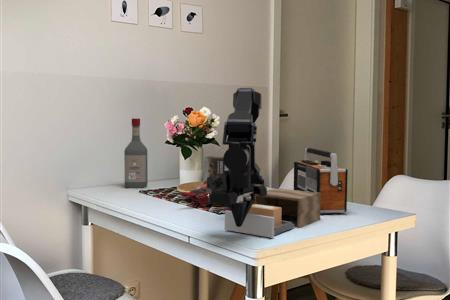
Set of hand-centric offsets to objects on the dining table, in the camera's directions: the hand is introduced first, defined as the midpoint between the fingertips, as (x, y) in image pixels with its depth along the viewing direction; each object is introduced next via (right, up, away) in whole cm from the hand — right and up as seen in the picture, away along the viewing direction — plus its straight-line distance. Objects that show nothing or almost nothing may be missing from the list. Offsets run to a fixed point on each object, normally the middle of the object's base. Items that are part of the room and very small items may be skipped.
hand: (238, 226), depth 126 cm
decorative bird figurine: (-12, 0, +42) cm, 44 cm away
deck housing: (+15, -2, +22) cm, 27 cm away
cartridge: (+7, -1, +10) cm, 12 cm away
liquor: (-42, +3, +88) cm, 98 cm away
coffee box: (-6, +1, +57) cm, 58 cm away
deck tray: (+6, -2, +9) cm, 12 cm away
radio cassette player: (+29, 0, +44) cm, 52 cm away
